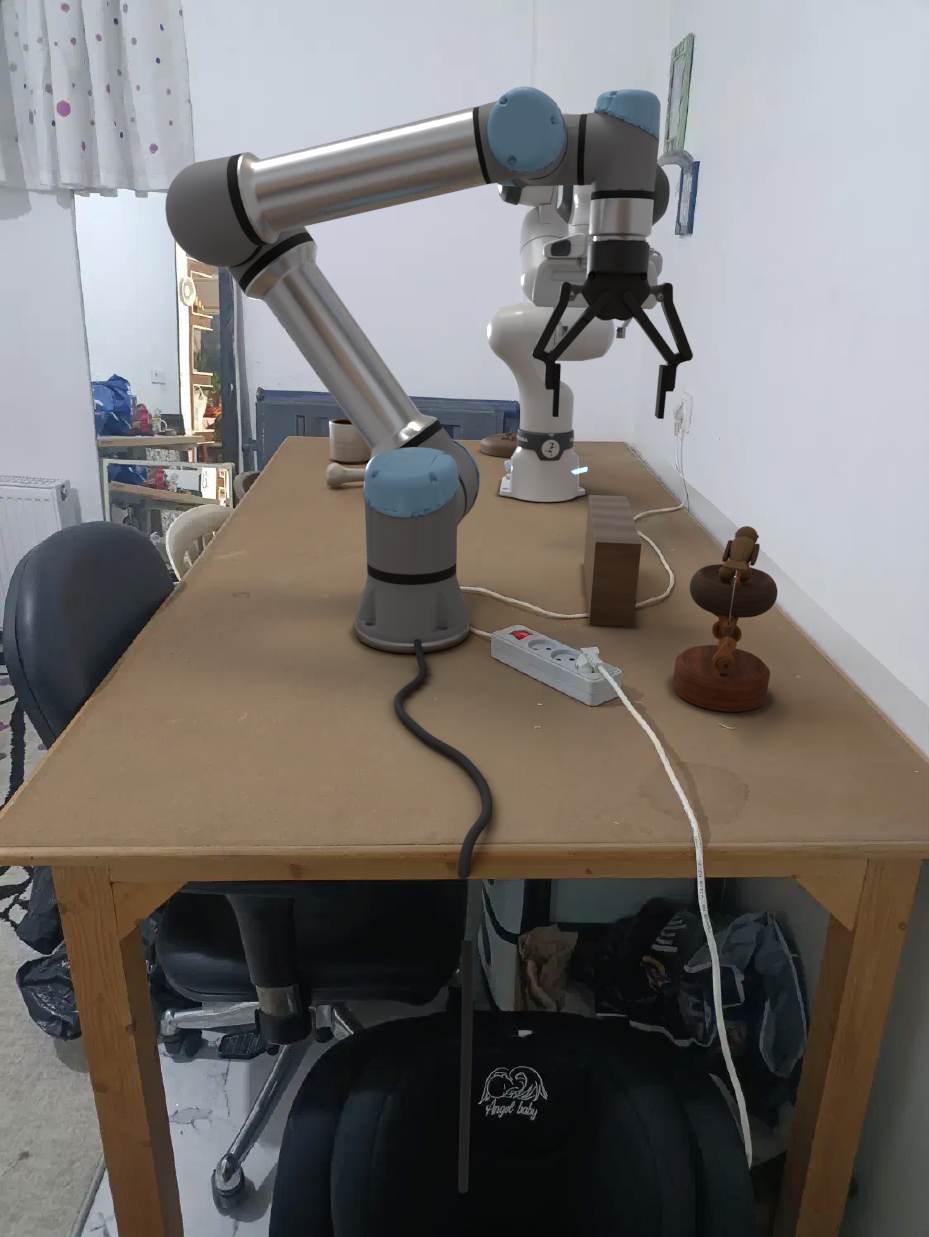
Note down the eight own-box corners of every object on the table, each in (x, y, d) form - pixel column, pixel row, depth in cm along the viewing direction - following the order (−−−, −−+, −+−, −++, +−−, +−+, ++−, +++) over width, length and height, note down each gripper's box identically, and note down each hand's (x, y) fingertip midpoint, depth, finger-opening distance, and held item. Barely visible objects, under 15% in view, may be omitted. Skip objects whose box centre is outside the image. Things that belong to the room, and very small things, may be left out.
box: (633, 627, 116) (641, 544, 111) (589, 624, 116) (595, 541, 112) (620, 567, 139) (626, 496, 135) (583, 565, 140) (588, 494, 135)
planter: (327, 456, 217) (325, 418, 214) (369, 454, 220) (368, 417, 217) (334, 465, 208) (332, 425, 204) (377, 463, 211) (376, 424, 207)
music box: (784, 722, 91) (798, 544, 84) (680, 722, 93) (685, 548, 85) (755, 661, 105) (765, 505, 98) (665, 663, 107) (668, 509, 99)
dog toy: (415, 481, 193) (415, 459, 191) (418, 487, 188) (418, 465, 186) (325, 483, 190) (324, 461, 188) (326, 489, 184) (325, 466, 182)
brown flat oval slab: (485, 467, 208) (485, 449, 207) (478, 445, 234) (478, 430, 233) (570, 467, 209) (571, 450, 208) (554, 445, 235) (554, 430, 234)
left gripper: (716, 241, 106) (697, 413, 114) (517, 240, 107) (512, 410, 115) (729, 239, 99) (708, 422, 107) (516, 238, 100) (511, 419, 108)
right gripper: (661, 248, 137) (652, 337, 142) (535, 246, 139) (531, 334, 144) (666, 247, 131) (657, 340, 136) (534, 245, 133) (530, 337, 138)
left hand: (606, 416), depth 111 cm, fingers open, 13 cm apart
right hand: (591, 337), depth 140 cm, fingers open, 8 cm apart
